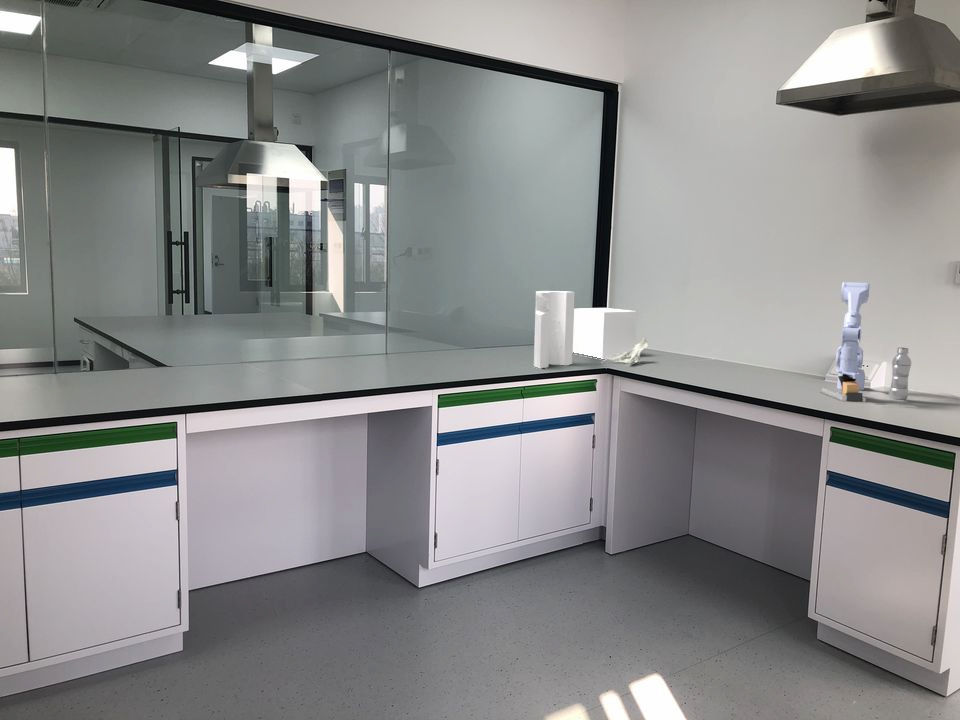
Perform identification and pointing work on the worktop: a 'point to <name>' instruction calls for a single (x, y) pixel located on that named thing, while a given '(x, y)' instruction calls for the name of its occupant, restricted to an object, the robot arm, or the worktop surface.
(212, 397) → the worktop surface
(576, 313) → the cube
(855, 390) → the block
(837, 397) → the mounting plate
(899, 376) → the plastic bottle
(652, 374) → the worktop surface
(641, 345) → the skeletal model
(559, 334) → the white grooved block
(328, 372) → the worktop surface
